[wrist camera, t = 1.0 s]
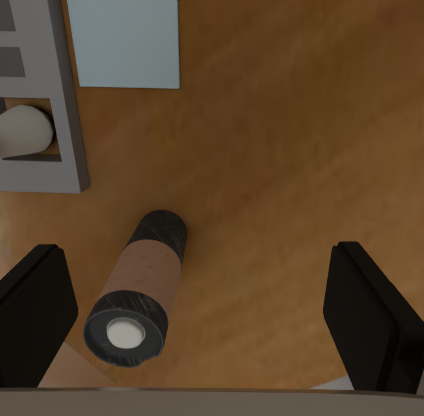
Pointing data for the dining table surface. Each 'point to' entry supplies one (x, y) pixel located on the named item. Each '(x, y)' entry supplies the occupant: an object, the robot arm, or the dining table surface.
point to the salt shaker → (24, 131)
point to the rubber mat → (126, 42)
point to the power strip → (41, 95)
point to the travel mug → (139, 294)
